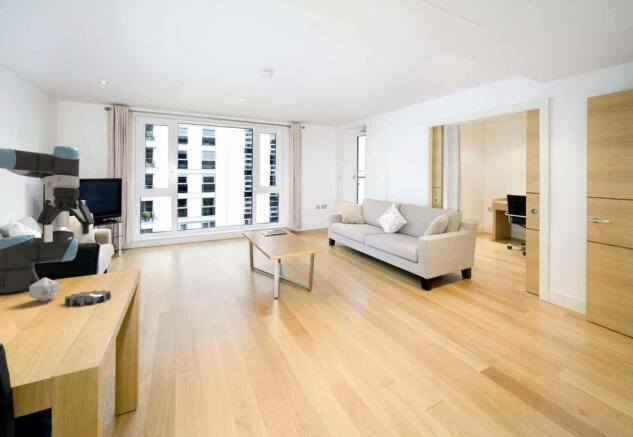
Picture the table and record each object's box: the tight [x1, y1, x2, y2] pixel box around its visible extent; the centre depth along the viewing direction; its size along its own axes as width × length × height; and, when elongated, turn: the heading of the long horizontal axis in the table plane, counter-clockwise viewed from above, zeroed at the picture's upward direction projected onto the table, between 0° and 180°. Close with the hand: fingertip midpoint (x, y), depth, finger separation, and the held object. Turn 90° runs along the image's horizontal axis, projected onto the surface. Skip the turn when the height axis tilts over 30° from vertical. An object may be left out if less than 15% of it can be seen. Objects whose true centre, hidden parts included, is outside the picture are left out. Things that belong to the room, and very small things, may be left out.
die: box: [29, 277, 60, 302], centre depth 113 cm, size 8×9×10 cm
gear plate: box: [64, 289, 112, 307], centre depth 114 cm, size 15×15×2 cm
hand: (65, 242), depth 110 cm, fingers open, 13 cm apart
